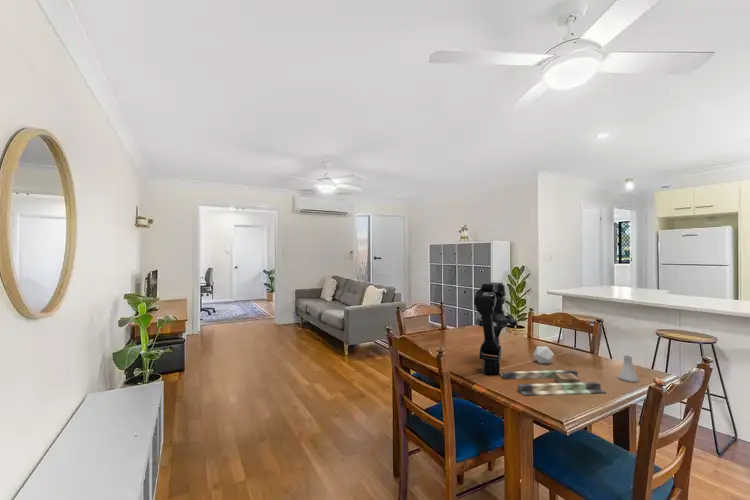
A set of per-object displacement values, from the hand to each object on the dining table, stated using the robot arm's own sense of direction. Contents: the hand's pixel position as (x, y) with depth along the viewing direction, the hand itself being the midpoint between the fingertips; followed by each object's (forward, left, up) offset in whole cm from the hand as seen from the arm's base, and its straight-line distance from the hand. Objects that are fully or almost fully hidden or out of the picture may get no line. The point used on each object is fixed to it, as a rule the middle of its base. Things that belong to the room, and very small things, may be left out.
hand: (496, 339), depth 169 cm
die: (+24, 0, -12) cm, 27 cm away
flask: (+48, -24, -12) cm, 55 cm away
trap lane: (+12, -26, -12) cm, 31 cm away
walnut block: (+18, -28, -12) cm, 35 cm away
